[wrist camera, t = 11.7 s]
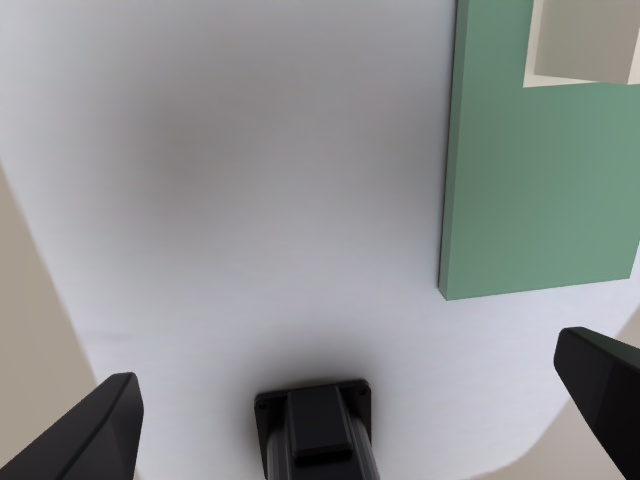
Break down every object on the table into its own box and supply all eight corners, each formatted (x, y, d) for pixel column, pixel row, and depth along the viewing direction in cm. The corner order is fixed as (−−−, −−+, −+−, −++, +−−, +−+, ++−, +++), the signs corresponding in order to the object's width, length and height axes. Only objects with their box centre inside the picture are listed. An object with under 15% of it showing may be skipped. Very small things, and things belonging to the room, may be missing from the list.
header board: (615, 269, 24) (670, 303, 21) (438, 290, 23) (468, 330, 20) (749, -262, 15) (876, -340, 12) (475, -265, 14) (538, -352, 11)
